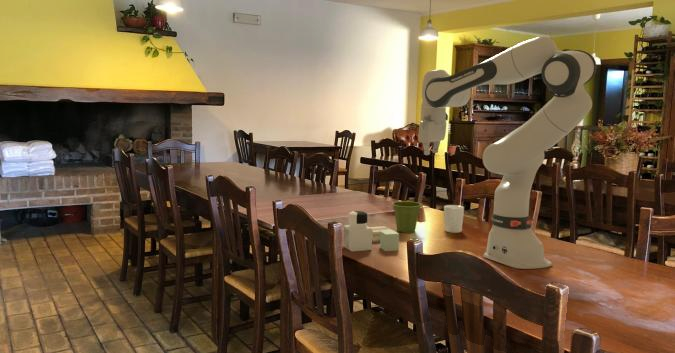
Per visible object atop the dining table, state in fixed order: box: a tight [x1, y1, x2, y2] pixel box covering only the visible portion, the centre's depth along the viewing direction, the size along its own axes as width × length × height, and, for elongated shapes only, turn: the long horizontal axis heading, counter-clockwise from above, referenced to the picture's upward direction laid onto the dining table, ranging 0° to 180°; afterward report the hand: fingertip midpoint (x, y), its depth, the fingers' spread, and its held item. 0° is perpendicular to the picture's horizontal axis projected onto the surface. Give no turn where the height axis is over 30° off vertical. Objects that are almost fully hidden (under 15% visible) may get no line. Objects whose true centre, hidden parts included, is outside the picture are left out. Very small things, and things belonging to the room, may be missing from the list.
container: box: [343, 210, 373, 252], centre depth 187 cm, size 8×8×13 cm
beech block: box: [369, 226, 394, 243], centre depth 202 cm, size 8×8×4 cm
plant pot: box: [391, 200, 423, 234], centre depth 214 cm, size 12×12×11 cm
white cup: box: [443, 204, 465, 234], centre depth 216 cm, size 8×8×10 cm
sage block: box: [379, 229, 400, 252], centre depth 187 cm, size 5×5×6 cm
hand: (431, 153), depth 195 cm, fingers open, 8 cm apart
